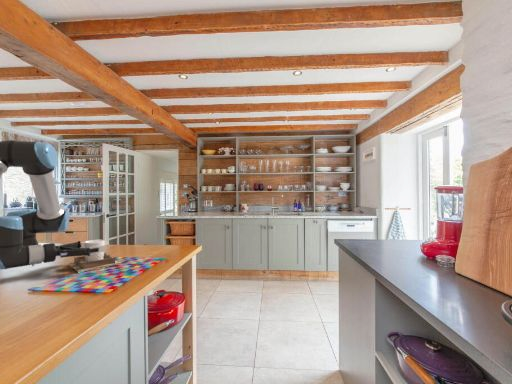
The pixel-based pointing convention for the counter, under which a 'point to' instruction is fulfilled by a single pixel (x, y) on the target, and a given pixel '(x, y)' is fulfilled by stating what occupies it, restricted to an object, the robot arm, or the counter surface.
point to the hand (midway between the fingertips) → (101, 245)
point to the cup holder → (92, 263)
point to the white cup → (94, 255)
